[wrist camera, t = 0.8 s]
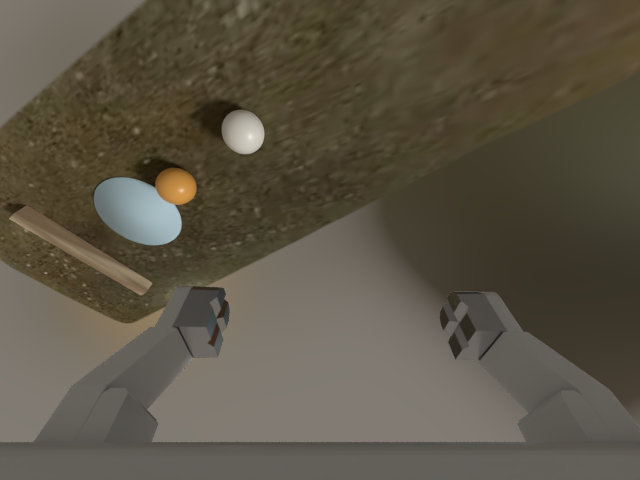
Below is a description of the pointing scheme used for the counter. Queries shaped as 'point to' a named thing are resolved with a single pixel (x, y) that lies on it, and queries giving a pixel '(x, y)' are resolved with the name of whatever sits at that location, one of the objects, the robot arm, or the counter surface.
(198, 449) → the robot arm
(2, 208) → the counter surface
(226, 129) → the ivory ball
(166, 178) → the orange ball
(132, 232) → the blue mark
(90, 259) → the wooden stop rail
